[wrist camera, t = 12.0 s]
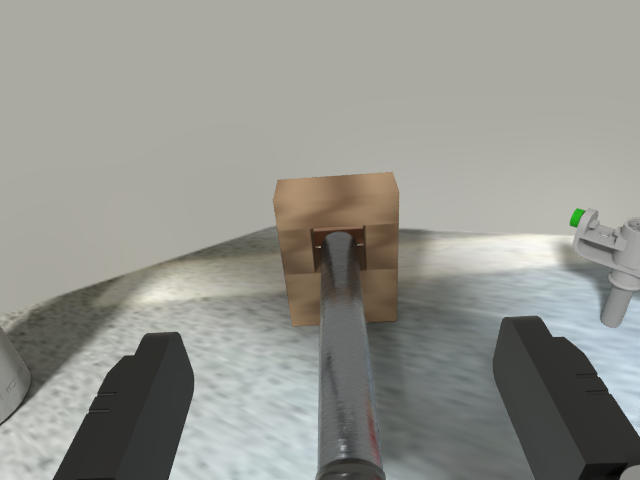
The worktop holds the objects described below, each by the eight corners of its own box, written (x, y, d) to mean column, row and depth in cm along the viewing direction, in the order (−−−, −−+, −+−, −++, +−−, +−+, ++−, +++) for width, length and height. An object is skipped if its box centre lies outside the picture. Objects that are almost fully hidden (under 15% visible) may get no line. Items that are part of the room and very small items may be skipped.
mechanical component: (558, 289, 43) (583, 200, 37) (685, 341, 36) (737, 241, 31) (545, 304, 41) (569, 213, 36) (675, 361, 34) (728, 259, 29)
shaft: (387, 513, 21) (388, 475, 19) (318, 515, 21) (311, 478, 19) (358, 261, 39) (357, 229, 37) (321, 263, 39) (318, 231, 37)
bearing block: (292, 326, 41) (273, 200, 34) (294, 299, 45) (277, 179, 37) (396, 320, 41) (399, 192, 34) (391, 294, 44) (392, 172, 37)
